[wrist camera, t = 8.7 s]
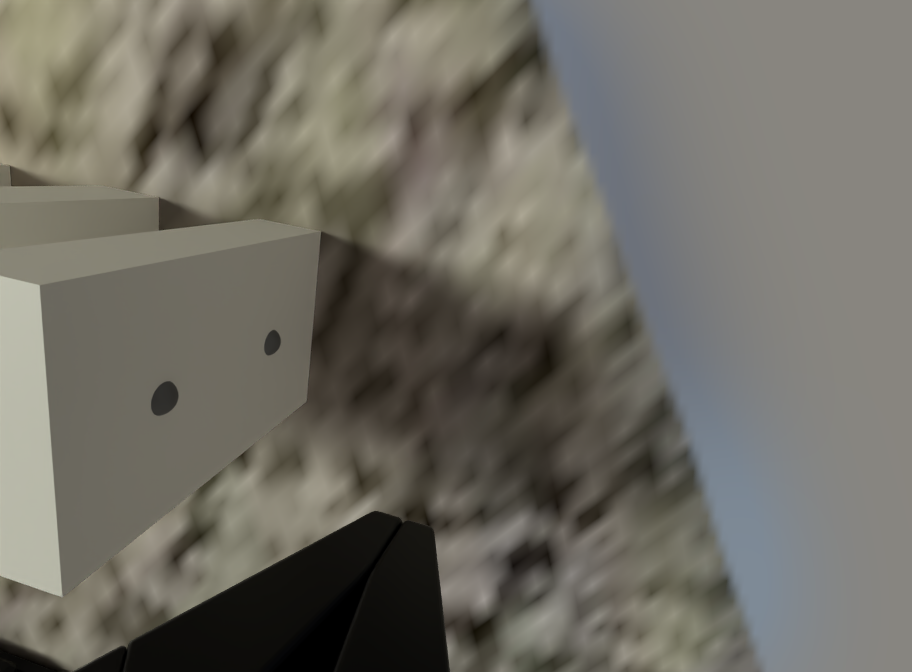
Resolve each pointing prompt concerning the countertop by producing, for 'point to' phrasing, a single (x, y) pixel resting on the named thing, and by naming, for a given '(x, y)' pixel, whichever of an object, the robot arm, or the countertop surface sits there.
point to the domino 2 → (139, 379)
